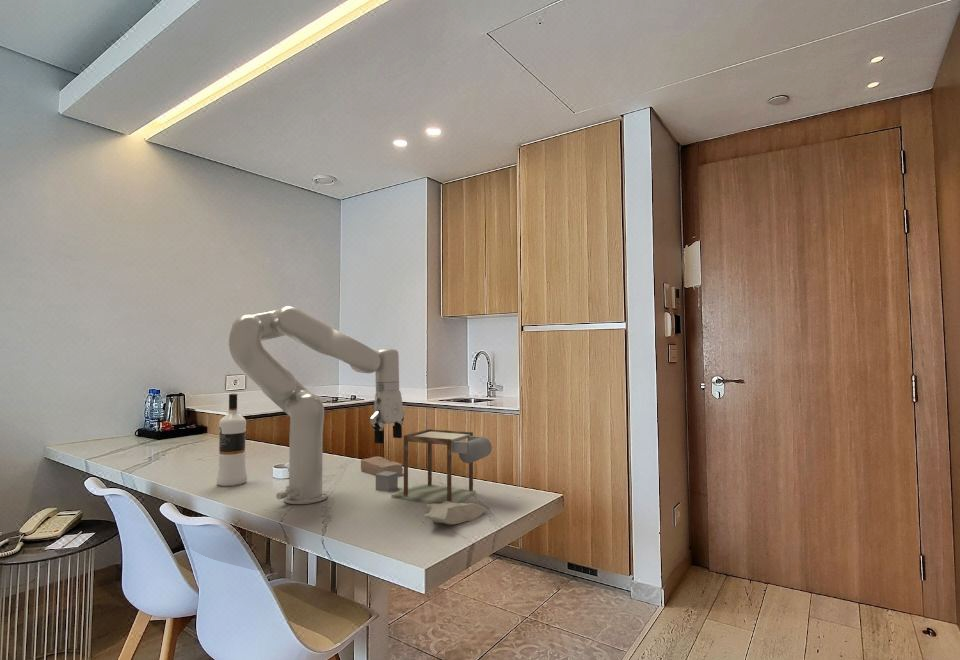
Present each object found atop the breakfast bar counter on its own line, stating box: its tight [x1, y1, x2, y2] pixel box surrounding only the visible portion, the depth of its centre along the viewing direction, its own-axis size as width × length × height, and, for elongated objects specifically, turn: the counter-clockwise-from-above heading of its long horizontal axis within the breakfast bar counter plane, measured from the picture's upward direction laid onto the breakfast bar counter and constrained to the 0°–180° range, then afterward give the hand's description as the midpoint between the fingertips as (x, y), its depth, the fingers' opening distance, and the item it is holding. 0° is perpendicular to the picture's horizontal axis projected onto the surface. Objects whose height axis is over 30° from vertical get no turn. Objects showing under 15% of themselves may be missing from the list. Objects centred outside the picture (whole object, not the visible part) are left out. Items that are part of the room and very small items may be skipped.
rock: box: [423, 501, 487, 525], centre depth 140 cm, size 21×5×15 cm
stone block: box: [375, 471, 399, 492], centre depth 170 cm, size 5×5×5 cm
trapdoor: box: [416, 431, 493, 464], centre depth 160 cm, size 22×12×6 cm, turn 64°
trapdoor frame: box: [390, 428, 476, 504], centre depth 162 cm, size 21×15×19 cm
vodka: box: [216, 393, 248, 487], centre depth 178 cm, size 9×9×30 cm
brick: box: [360, 456, 404, 477], centre depth 192 cm, size 17×8×5 cm, turn 43°
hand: (388, 440), depth 171 cm, fingers open, 9 cm apart
